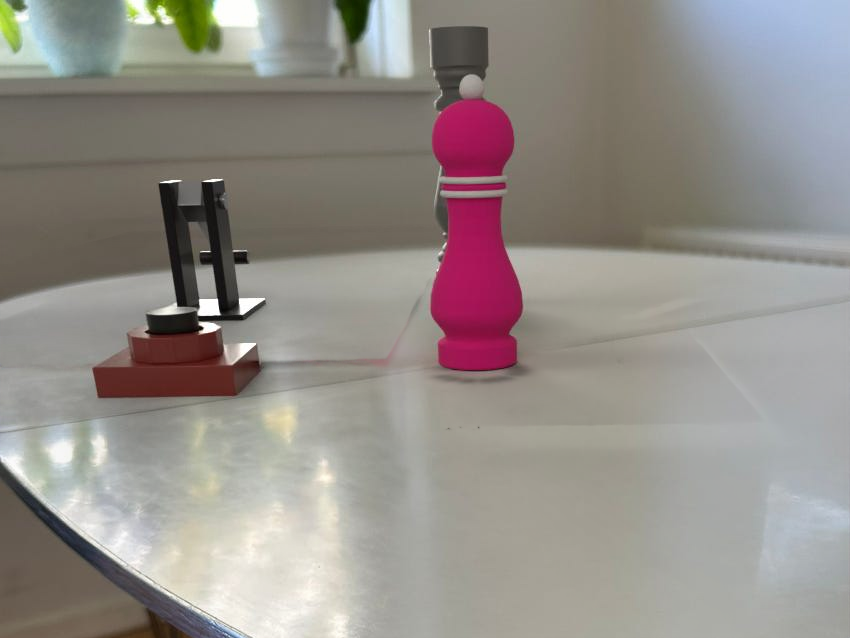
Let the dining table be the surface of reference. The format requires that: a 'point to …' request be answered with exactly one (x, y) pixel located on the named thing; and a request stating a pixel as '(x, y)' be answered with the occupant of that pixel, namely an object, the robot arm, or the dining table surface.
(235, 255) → the tap lever
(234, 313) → the bracket
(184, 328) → the black push button
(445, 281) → the pepper mill
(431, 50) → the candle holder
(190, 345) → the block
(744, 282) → the dining table surface
